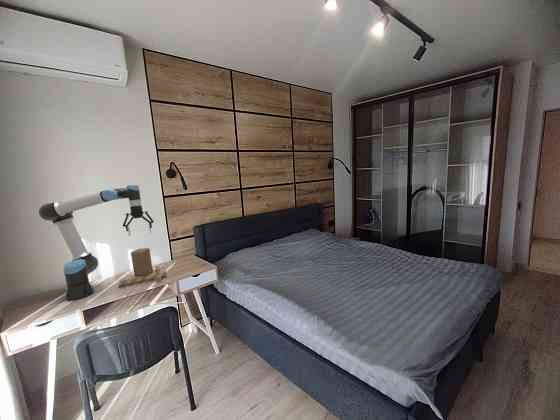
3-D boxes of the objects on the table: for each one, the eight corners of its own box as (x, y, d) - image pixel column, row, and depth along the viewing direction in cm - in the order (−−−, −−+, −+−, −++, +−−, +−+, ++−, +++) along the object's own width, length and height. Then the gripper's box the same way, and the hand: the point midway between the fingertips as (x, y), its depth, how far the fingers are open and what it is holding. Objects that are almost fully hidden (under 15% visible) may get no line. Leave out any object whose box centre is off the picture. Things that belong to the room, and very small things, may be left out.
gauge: (155, 283, 184) (153, 268, 182) (155, 277, 195) (153, 263, 193) (161, 281, 185) (159, 267, 184) (161, 276, 196) (159, 262, 195)
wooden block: (153, 271, 210) (149, 247, 207) (145, 276, 200) (142, 251, 197) (142, 271, 211) (138, 248, 208) (134, 276, 201) (130, 252, 198)
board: (118, 287, 180) (118, 285, 180) (120, 283, 188) (120, 280, 188) (166, 277, 192) (166, 275, 192) (166, 273, 201) (166, 271, 200)
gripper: (115, 208, 178) (120, 237, 181) (154, 203, 188) (158, 232, 191) (116, 207, 185) (121, 235, 188) (154, 203, 195) (158, 230, 198)
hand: (140, 234), depth 189 cm, fingers open, 13 cm apart
